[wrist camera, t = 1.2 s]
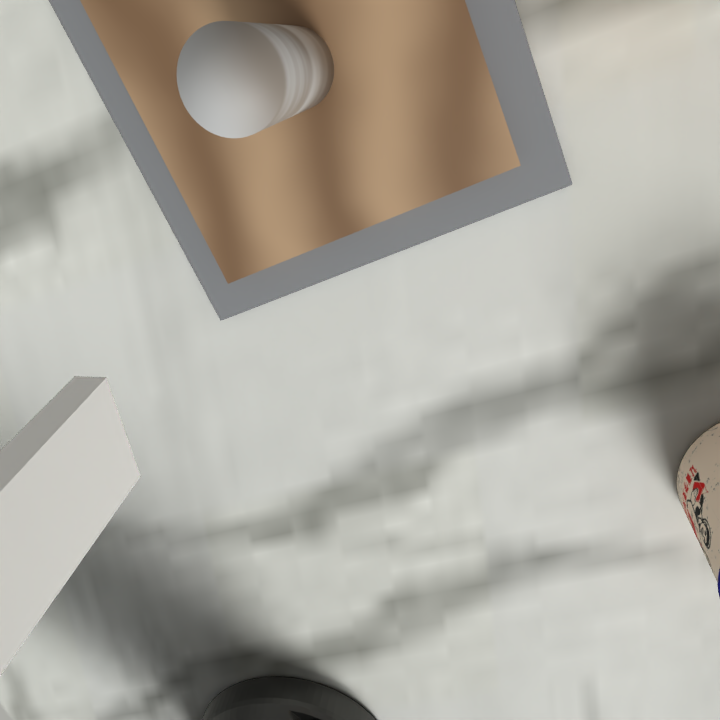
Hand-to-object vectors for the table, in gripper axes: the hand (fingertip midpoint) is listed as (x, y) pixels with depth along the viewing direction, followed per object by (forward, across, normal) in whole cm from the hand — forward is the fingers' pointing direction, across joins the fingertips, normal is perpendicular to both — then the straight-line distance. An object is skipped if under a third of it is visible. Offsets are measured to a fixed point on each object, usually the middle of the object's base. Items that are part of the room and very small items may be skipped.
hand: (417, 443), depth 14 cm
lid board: (+23, +9, -4) cm, 25 cm away
